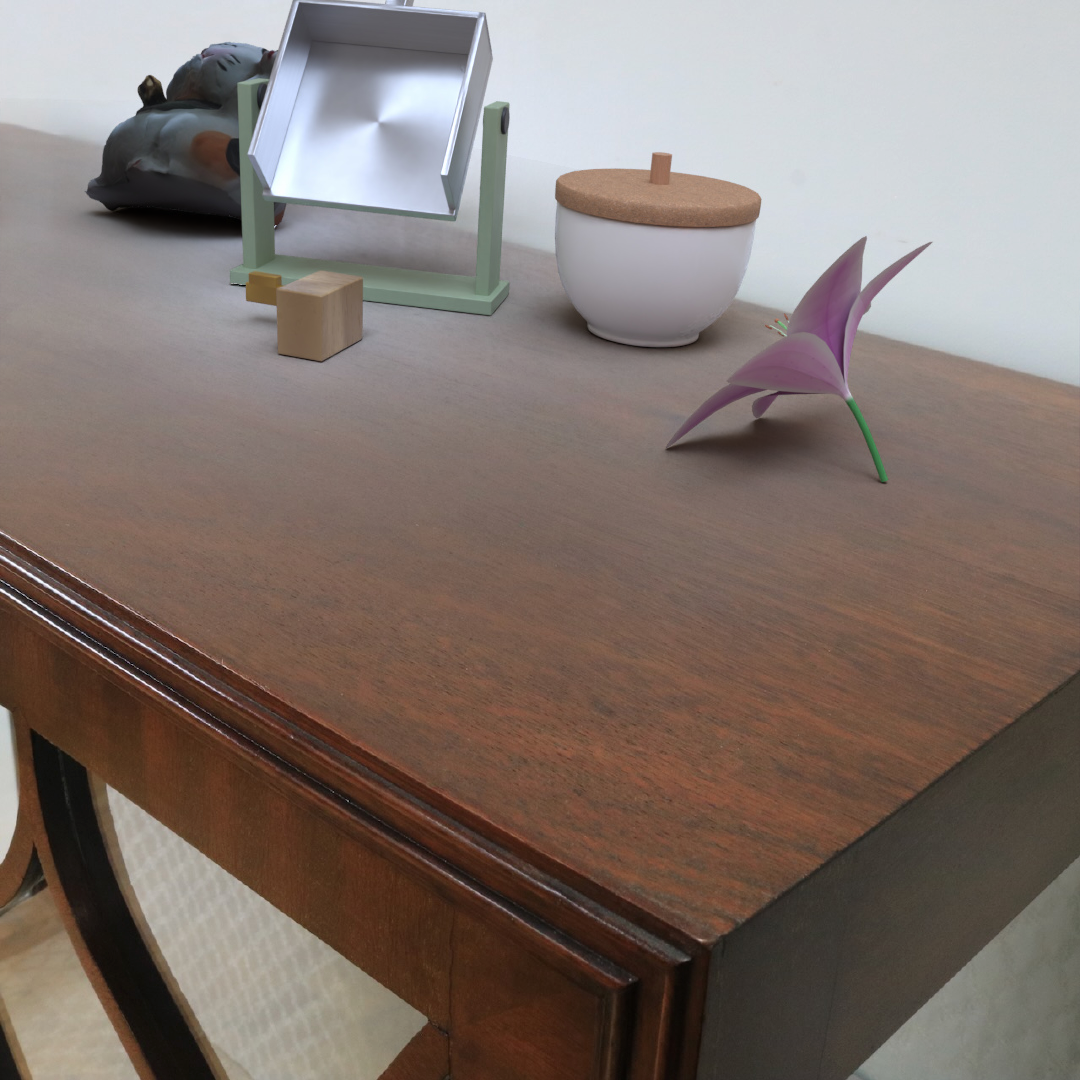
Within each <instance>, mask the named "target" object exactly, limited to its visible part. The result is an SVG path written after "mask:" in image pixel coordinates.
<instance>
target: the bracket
mask: <svg viewBox="0 0 1080 1080" xmlns="http://www.w3.org/2000/svg"><path fill="white" fill-rule="evenodd" d="M268 82H269V79H261V78H258V79H253V80H248V81H243V82H239V83H237V88H238V118H239V149H240V180H241V210H242V220H241V234H242V235H241V236H242V240H241V241H242V263H241V264H240V265H237V266H236V267H234V268H232V269H230V270H229V284H230V283H233V284H234V283H237V284H242V285H246V284H245V283H246V282H248V281H249V273H250V272H253V271H258V272H264V273H270V274H277V275H281V276H282V285H287V284H289V283H292V282H294V281H296V280H299V279H301V278H303V277H306V276H308V275H311V274H313V273H315V272H318V271H320V270H322V271H328V272H334V273H341V274H347V275H353V276H360V277H362V278H363V301H365V302H375V303H383V304H391V305H398V306H399V305H401V306H408V307H416V308H425V309H432V310H440V311H441V310H442V311H449V312H457V313H465V314H466V313H468V314H474V315H482V316H483V315H484V316H492V315H493V314H494V312H495V311H496V310H497V308H498V307H500V305H501V304H502V303H503V302H504V301H505V299H507V297H508V296H509V295H510V283H511V282H510V281H509V280H503V279H500V277H501V263H502V262H501V261H502V245H503V244H502V243H503V229H504V228H503V226H504V225H503V224H504V210H505V209H504V208H505V193H506V190H505V189H506V177H507V176H506V174H507V173H506V172H507V158H508V157H507V156H508V142H509V141H508V138H509V127H510V120H511V119H510V106H511V105H510V102H509V101H498V100H497V101H494V102H492V103H490V104H488V105H485V106H484V107H483V115H482V138H481V139H482V140H481V159H480V161H481V162H480V179H479V180H480V182H479V199H478V200H479V201H478V202H479V203H478V221H477V240H476V243H477V244H476V259H475V260H476V261H475V262H476V263H475V276H469V275H461V274H460V275H459V274H450V273H441V272H434V271H424V270H416V269H407V268H399V267H389V266H382V265H373V264H363V263H355V262H346V261H338V260H329V259H322V258H321V259H320V258H314V257H313V258H312V257H302V256H296V255H295V256H293V255H286V254H277V253H276V243H275V242H276V240H275V239H276V238H275V235H276V233H275V229H274V202H271V201H265V200H264V198H263V196H262V194H263V190H264V188H263V186H262V184H261V182H260V180H259V178H258V176H257V174H256V172H255V170H254V168H253V166H252V164H251V162H250V159H249V157H248V155H247V153H248V150H249V147H250V143H251V140H252V137H253V133H254V130H255V126H256V123H257V120H258V116H259V113H260V109H261V106H262V103H263V99H264V96H265V93H266V89H267V86H268Z"/></svg>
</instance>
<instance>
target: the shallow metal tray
mask: <svg viewBox="0 0 1080 1080" xmlns="http://www.w3.org/2000/svg"><path fill="white" fill-rule="evenodd" d="M414 3H415V0H385V2H384V3H379V2H377V3H376V2H368V1H367V2H366V1H355V0H292V1H291V5H290V9H289V11H288V15H287V17H286V18H287V19H286V22H285V25H284V29H283V32H282V35H281V39H280V42H279V46H278V49H277V50H278V52H277V55H276V59H275V62H274V65H273V69H272V72H271V76H270V79H269V82H268V86H267V89H266V93H265V96H264V99H263V103H262V106H261V109H260V113H259V116H258V120H257V123H256V126H255V130H254V133H253V137H252V140H251V143H250V147H249V150H248V153H247V155H248V157H249V159H250V162H251V164H252V166H253V168H254V170H255V172H256V174H257V176H258V178H259V180H260V182H261V184H262V186H263V188H264V190H263V194H262V196H263V198H264V200H265V201H271V202H280V203H286V204H291V205H297V206H298V205H300V206H308V207H316V208H326V209H335V210H337V209H338V210H344V211H353V212H354V211H355V212H363V213H372V214H381V215H382V214H383V215H390V216H399V217H409V218H418V219H428V220H437V221H445V222H456V221H457V219H458V214H459V210H460V205H461V201H462V196H463V192H464V187H465V183H466V178H467V175H468V170H469V166H470V161H471V157H472V152H473V148H474V144H475V139H476V135H477V132H478V131H477V130H478V126H479V121H480V118H481V113H482V109H483V104H484V100H485V96H486V92H487V86H488V83H489V78H490V74H491V70H492V65H493V62H494V61H493V60H494V57H493V50H492V43H491V38H490V31H489V26H488V19H487V13H486V12H483V11H472V10H471V11H470V10H459V9H458V10H457V9H446V8H436V7H423V6H414Z"/></svg>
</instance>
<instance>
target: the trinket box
mask: <svg viewBox="0 0 1080 1080" xmlns="http://www.w3.org/2000/svg"><path fill="white" fill-rule="evenodd" d="M650 161H651V163H650V169H642V168H641V169H640V168H591V169H590V168H589V169H580V170H574V171H570V172H566V173H563V174H561V175H560V176H559V177H557V179H556V180H555V190H554V199H555V201H556V208H555V222H554V245H555V246H554V247H555V248H554V249H555V259H556V265H557V266H556V267H557V272H558V275H559V279H560V282H561V285H562V288H563V290H564V292H565V294H566V296H567V298H568V300H569V301H570V303H571V304H572V306H573V307H574V309H575V310H576V311H577V312H578V313H579V315H581V317H582V318H583V319H584V320H585V321H586V322H587V325H586V327H587V329H588V331H590V333H591V334H593V335H595V336H597V337H599V338H602V339H604V340H606V341H607V340H608V341H611V342H614V343H619V344H624V345H629V346H636V347H646V348H647V347H648V348H671V347H672V348H673V347H680V346H685V345H689V344H692V343H695V342H696V341H697V340H698V339H699V335H700V333H701V332H702V331H704V330H705V329H707V328H708V327H710V326H712V325H713V324H714V323H715V322H716V321H717V320H718V319H719V318H720V317H721V316H722V315H723V314H724V313H725V312H726V311H727V310H728V308H729V307H730V305H731V304H732V303H733V301H734V299H735V297H736V296H737V295H738V293H739V291H740V288H741V286H742V284H743V282H744V279H745V276H746V273H747V270H748V266H749V261H750V258H751V254H752V249H753V243H754V238H755V232H756V225H757V220H758V219H759V218H760V213H761V208H762V197H761V195H760V194H759V193H758V192H757V191H755V190H753V189H751V188H749V187H748V186H745V185H741V184H737V183H735V182H732V181H727V180H724V179H719V178H714V177H708V176H704V175H699V174H698V175H697V174H690V173H683V172H676V171H671V169H672V161H673V154H672V153H669V152H662V151H654V152H652V153H651V160H650Z"/></svg>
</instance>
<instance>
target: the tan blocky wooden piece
mask: <svg viewBox="0 0 1080 1080" xmlns="http://www.w3.org/2000/svg"><path fill="white" fill-rule="evenodd" d="M245 284H246V286H245V301H246V302H250V303H255V304H261V305H268V306H273V307H276V334H277V335H276V338H277V339H276V340H277V343H276V344H277V354H278V355H284V356H288V357H293V358H294V357H295V358H298V359H299V358H300V359H304V360H305V359H306V360H309V361H315V362H316V361H317V362H323V361H325V360H327V359H329V358H331V357H332V356H334V355H336V354H338V353H339V352H341V351H343V350H345V349H347V348H348V347H350V346H352V345H354V344H355V343H357V342H359V341H361V340H363V331H364V330H363V329H364V328H363V327H364V325H363V323H364V319H363V318H364V317H363V315H364V314H363V313H364V300H363V278H362V277H360V276H353V275H347V274H341V273H334V272H328V271H322V270H320V271H318V272H315V273H313V274H311V275H308V276H306V277H303V278H301V279H299V280H296V281H294V282H292V283H289V284H287V285H282V276H281V275H277V274H270V273H264V272H258V271H253V272H250V273H249V281H248V282H246V283H245Z"/></svg>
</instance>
